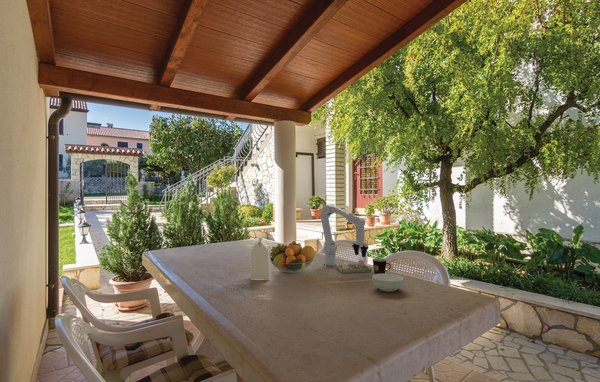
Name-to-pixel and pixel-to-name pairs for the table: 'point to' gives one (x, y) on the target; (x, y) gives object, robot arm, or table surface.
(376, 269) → the coffee mug
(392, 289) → the cereal bowl
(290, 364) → the table surface
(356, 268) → the egg carton
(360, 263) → the brown egg
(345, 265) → the cream egg
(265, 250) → the milk
